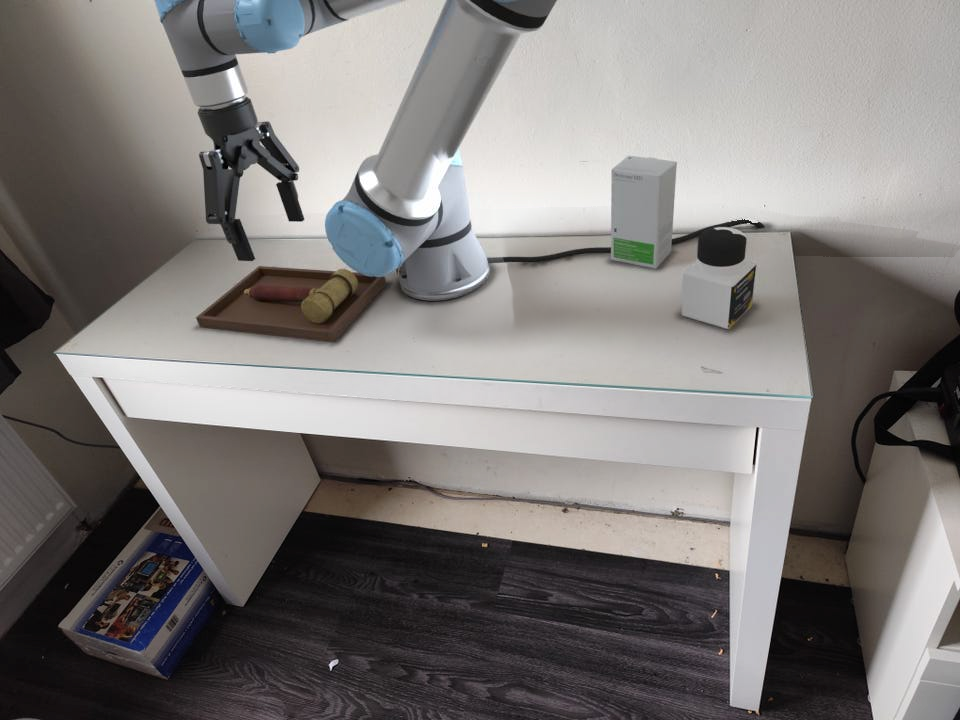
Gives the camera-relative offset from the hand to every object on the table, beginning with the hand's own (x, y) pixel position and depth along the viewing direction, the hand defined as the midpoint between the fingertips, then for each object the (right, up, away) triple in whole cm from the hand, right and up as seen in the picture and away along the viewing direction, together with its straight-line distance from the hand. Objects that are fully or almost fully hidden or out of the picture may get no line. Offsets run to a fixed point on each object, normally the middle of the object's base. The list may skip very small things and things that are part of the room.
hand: (273, 239), depth 106 cm
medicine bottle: (+66, -12, -12) cm, 68 cm away
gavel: (+2, -10, +7) cm, 12 cm away
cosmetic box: (+59, -2, +4) cm, 60 cm away
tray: (+1, -10, +7) cm, 12 cm away
